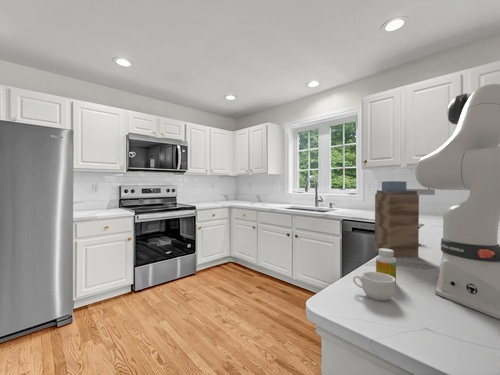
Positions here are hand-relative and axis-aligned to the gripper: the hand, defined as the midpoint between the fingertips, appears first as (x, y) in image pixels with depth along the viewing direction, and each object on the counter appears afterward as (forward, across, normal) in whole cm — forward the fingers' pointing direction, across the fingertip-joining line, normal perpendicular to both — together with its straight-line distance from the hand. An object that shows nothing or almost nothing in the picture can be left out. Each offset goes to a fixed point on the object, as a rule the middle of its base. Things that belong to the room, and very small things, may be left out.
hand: (430, 175), depth 115 cm
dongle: (+16, +3, +8) cm, 18 cm away
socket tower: (+26, -3, +31) cm, 41 cm away
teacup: (+60, +37, +37) cm, 79 cm away
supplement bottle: (+50, +28, +36) cm, 68 cm away
